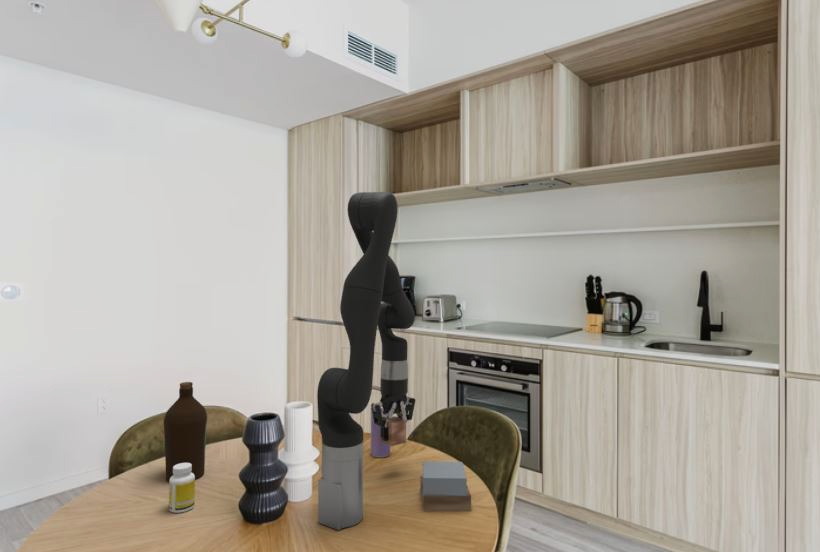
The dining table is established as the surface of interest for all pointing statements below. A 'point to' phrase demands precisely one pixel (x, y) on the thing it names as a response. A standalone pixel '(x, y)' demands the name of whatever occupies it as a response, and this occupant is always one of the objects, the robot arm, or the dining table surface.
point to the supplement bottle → (182, 488)
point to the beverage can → (378, 441)
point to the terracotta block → (396, 432)
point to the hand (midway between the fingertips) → (393, 438)
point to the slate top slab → (444, 478)
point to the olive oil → (185, 432)
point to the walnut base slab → (445, 501)
